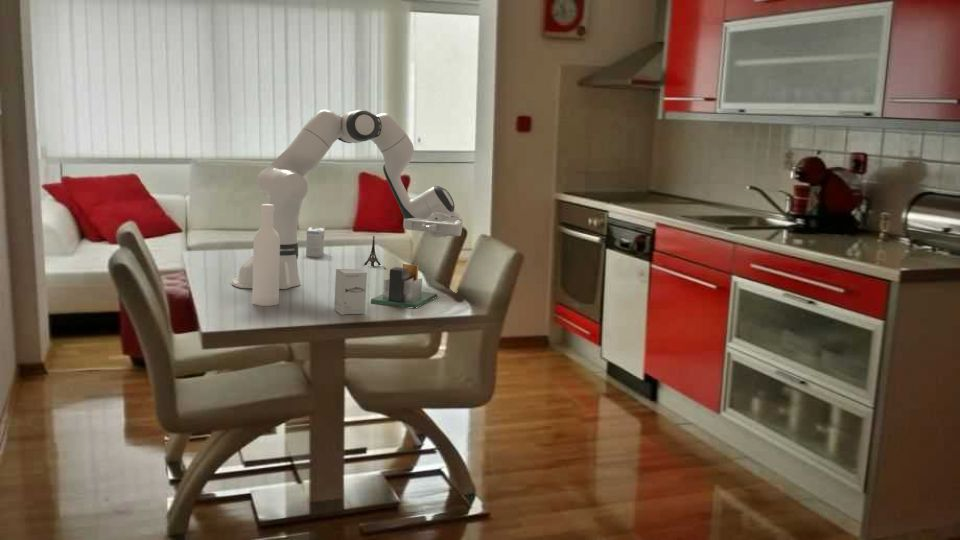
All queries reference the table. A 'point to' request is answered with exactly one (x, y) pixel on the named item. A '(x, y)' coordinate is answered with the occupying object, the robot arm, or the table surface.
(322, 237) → the light bulb box
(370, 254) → the eiffel tower figurine
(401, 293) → the heatsink board
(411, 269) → the yellow rectangular block
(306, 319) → the table surface
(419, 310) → the table surface
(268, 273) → the bottle
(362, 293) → the supplement box
